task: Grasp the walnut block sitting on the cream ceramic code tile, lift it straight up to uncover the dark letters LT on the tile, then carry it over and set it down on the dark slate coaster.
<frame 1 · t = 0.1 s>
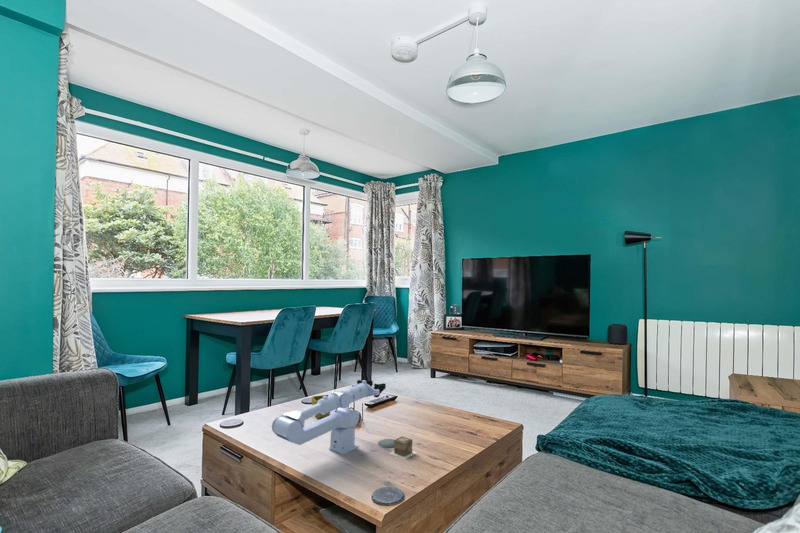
hand: (378, 384, 176), 22 cm above the table, fingers open, 7 cm apart
walnut block: (403, 452, 156), resting on code tile
slate coaster: (388, 444, 165), on the table
flower pot: (321, 416, 197), on the table
code tile: (403, 453, 156), on the table
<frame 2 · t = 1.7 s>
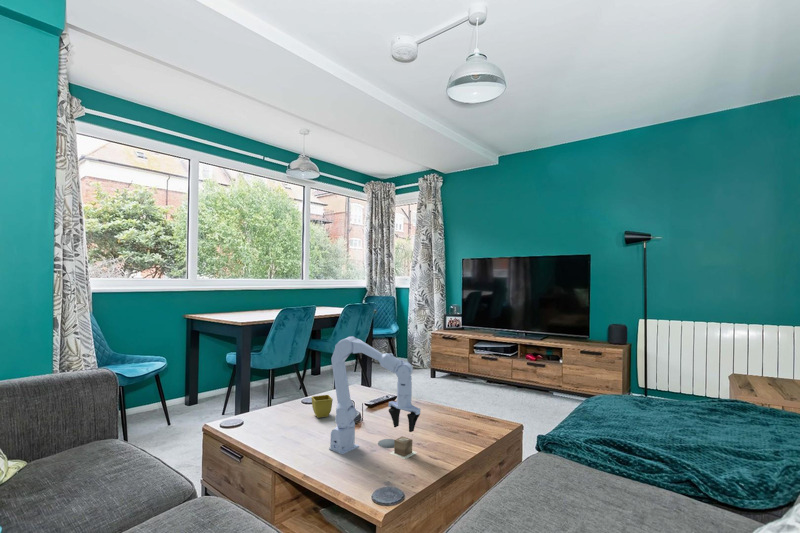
hand: (403, 428, 156), 10 cm above the table, fingers open, 7 cm apart
nothing on the table moved.
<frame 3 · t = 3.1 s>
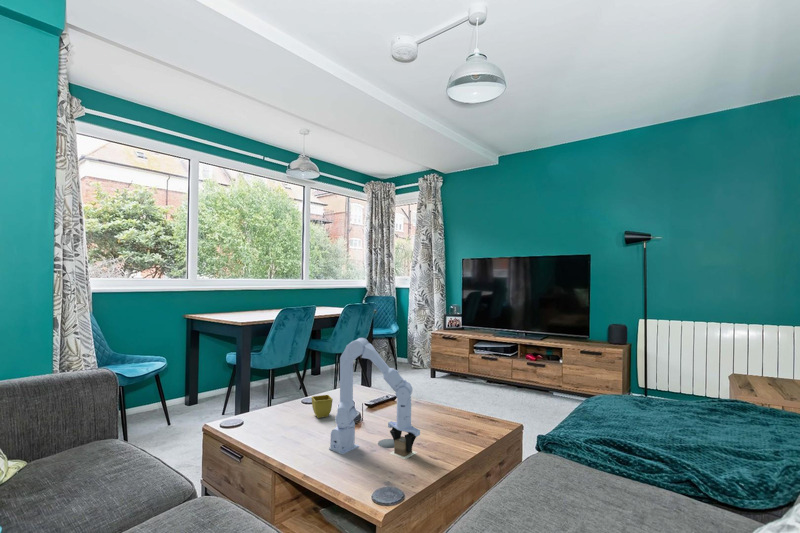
hand: (403, 449, 156), 1 cm above the table, fingers closed on walnut block, 5 cm apart
walnut block: (403, 452, 156), resting on code tile, touching gripper
everything else where it was.
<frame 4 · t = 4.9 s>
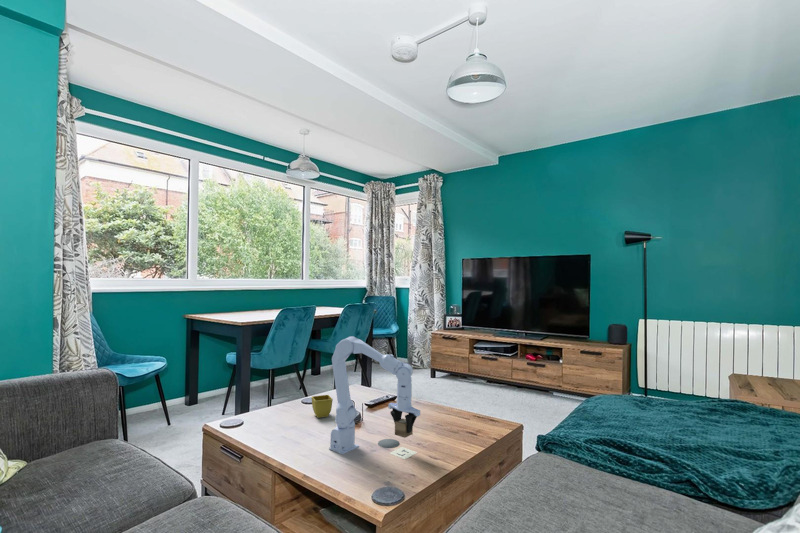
hand: (403, 430, 156), 9 cm above the table, fingers closed on walnut block, 5 cm apart
walnut block: (403, 434, 156), point 7 cm above the table, touching gripper
everything else where it was.
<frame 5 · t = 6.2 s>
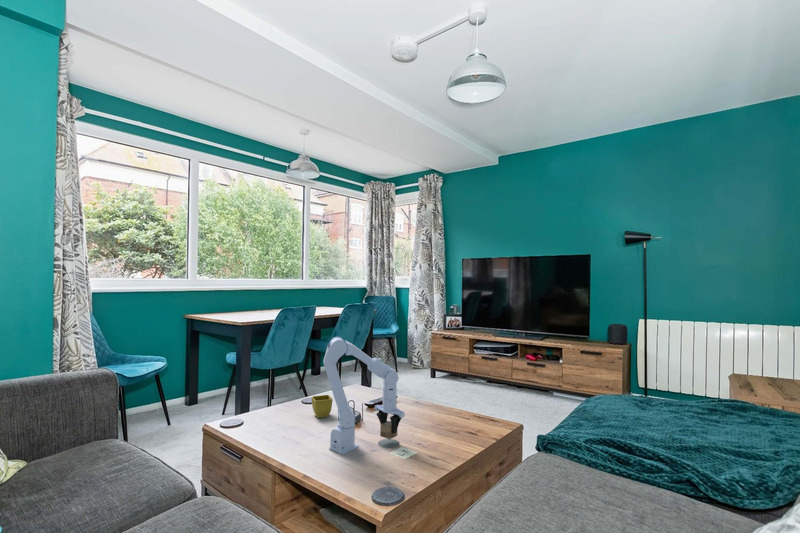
hand: (389, 431, 165), 5 cm above the table, fingers closed on walnut block, 5 cm apart
walnut block: (388, 435, 165), point 3 cm above the table, touching gripper
everything else where it was.
when the fingers open (3 cm above the table, at t = 7.2 s): walnut block stays where it is, resting on slate coaster.
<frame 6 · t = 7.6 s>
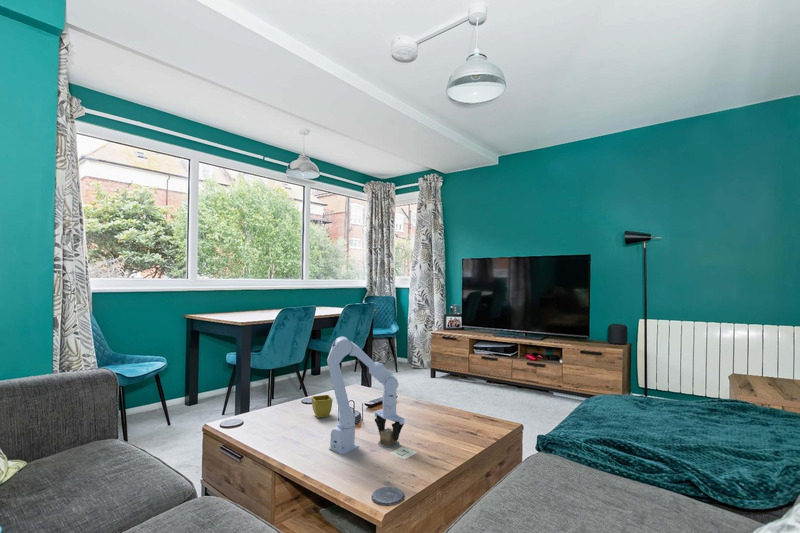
hand: (388, 437, 165), 3 cm above the table, fingers open, 7 cm apart
walnut block: (388, 443, 165), resting on slate coaster
everything else where it was.
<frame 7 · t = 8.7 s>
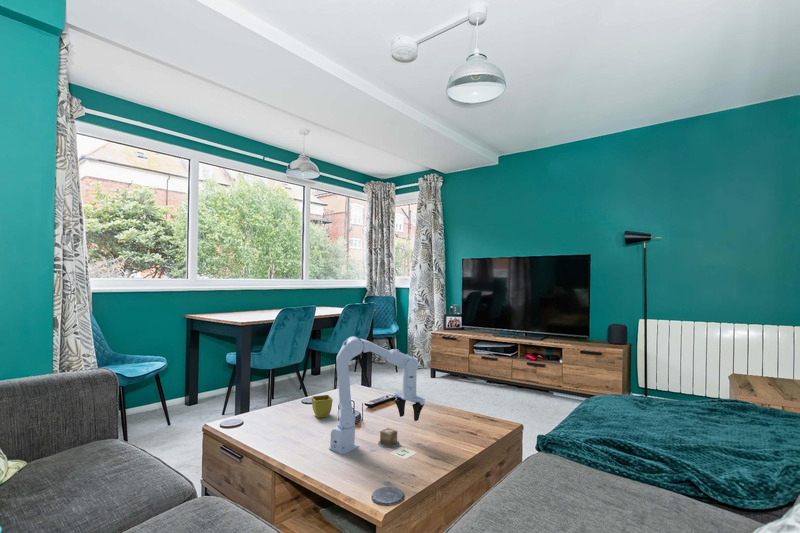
hand: (409, 418, 167), 10 cm above the table, fingers open, 7 cm apart
nothing on the table moved.
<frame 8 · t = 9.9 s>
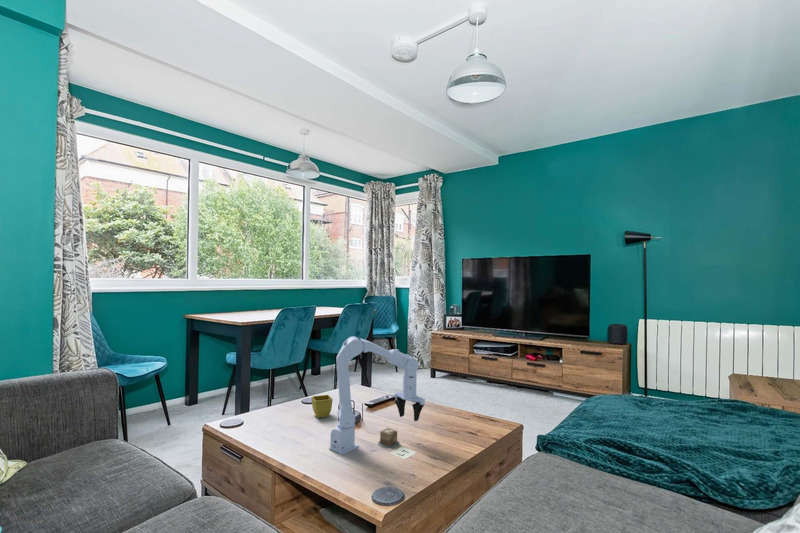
hand: (409, 418, 167), 10 cm above the table, fingers open, 7 cm apart
nothing on the table moved.
at the end: walnut block 0.1 cm from the slate coaster (horizontally); walnut block resting on slate coaster; walnut block moved 10.4 cm from its start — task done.
